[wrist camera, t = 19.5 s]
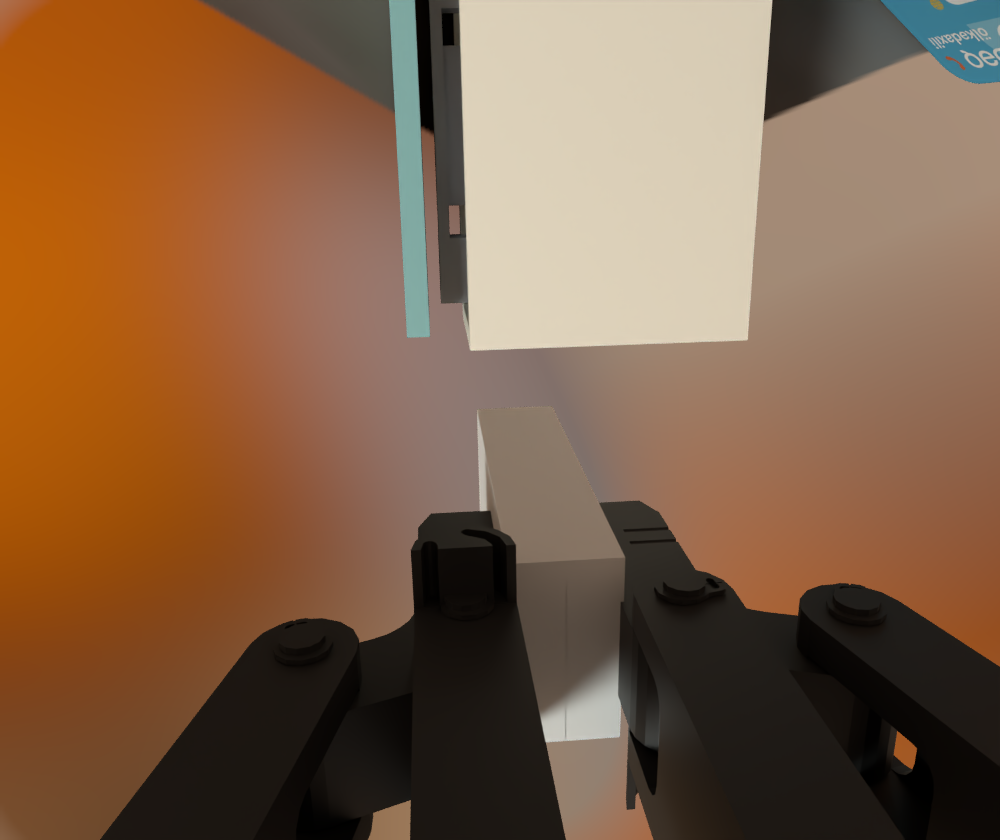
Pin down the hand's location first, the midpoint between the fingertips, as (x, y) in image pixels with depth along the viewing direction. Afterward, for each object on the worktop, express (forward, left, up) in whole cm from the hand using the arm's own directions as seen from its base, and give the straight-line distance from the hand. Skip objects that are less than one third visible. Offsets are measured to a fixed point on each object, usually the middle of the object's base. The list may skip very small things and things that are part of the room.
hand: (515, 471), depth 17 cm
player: (-7, +6, -26) cm, 28 cm away
